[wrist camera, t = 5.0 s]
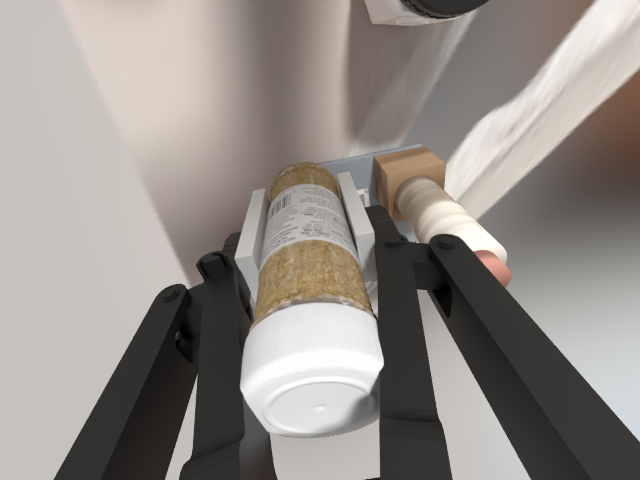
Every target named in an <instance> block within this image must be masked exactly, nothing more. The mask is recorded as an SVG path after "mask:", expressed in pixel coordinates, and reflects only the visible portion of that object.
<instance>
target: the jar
mask: <svg viewBox="0 0 640 480" xmlns="http://www.w3.org/2000/svg"><path fill="white" fill-rule="evenodd" d="M364 1H365V4H366V7H367V10H368V13H369V16H370V19H371V22H372V23H373V24H384V25H404V26H419V25H425V24H431V23H437V22H443V21H449V20H455V19H460V18H462V17H463V16H464V15H465V14H466V13H468V12H471V11H473V10H475V9H477V8H479V7H480V6H482V5H483V4H485V3H486V2H488V1H489V0H364Z"/></svg>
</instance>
